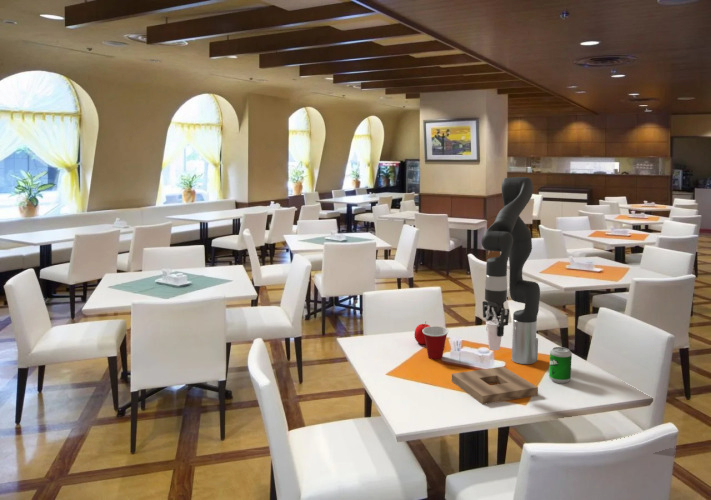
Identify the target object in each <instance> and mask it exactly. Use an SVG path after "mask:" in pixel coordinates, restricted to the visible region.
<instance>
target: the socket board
mask: <svg viewBox="0 0 711 500" xmlns="http://www.w3.org/2000/svg"><path fill="white" fill-rule="evenodd" d="M451 382H452V383H453V384H455V385H456V386H457V387H458V388H460V389H461V390H462V391H464V392H465V393H466V394H467V395H469V396H471V397H472V398H473V399H475V400H476V401H478V403H480V404H481V405H487V404H494V403H499V402H505V401H511V400H512V401H513V400H518V399H524V398H529V397H536V396H538V395H539V386H537V385H535V384H533V382H531V381H528V380H527V379H525V378H523V376H520V375H519V374H517V373H515V372H513V371H512V370H510V369H508V368H507V367H505V366H498V367H496V366H495V367H490V368H482V369H476V370H468V371H462V372H455V373H454V372H453V373H451ZM486 403H487V404H486Z"/></svg>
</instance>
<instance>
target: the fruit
mask: <svg viewBox="0 0 711 500" xmlns="http://www.w3.org/2000/svg"><path fill="white" fill-rule="evenodd" d="M430 326H431V325H429V324H427V321H425V323H421V324H418V325H417V326H416V328H415V329H414V330H415V331H414V339H415V341H416V342H417V343H418V344H420V345H422V346H423V345H424V346H426V342H425V337H424V333H423V332H422V330H423V329H424V328H426V327H430Z"/></svg>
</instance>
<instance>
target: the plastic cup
mask: <svg viewBox="0 0 711 500" xmlns="http://www.w3.org/2000/svg"><path fill="white" fill-rule="evenodd" d="M429 326H430V327H426V328H424V329H423V330H422V332H423V333H424V337H425V342H426V345H425V346H426V351H427V357H428V359H431V360H441V359H442V358H443V356H444V351H445V345H446V340H447V336H448V333H449V329H447V328H446V327H444V326H438V325H433V326H432V325H429Z"/></svg>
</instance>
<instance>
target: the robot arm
mask: <svg viewBox="0 0 711 500" xmlns="http://www.w3.org/2000/svg"><path fill="white" fill-rule="evenodd" d="M533 193H534V184H533V181H532V179H531V178H530V177H527V176H514V177H505V178H503V180H502V182H501V196H502V203H503V207H502V208H501V209H500V210H499V212H498V213H497V215H496V217H495V219H494V222H493V223H492V224H491V225H490V226H489V227H488V228H487V229H486V230H485V231H484V233H483V235H482V237H481V246H482V248H483V249H484V250H486V251H488V252H500V255H499V256H496V257H495V256H494V257H490V258H488V259H487V260H486V268H485V269H486V270H485V271H486V273H485V274H486V275H485V281H484V284H485V286H484V301H482V317H483V318H484V320H485V322H486V321H489V320H496V321H497V325H498V326H497V336H499V337H501V336H502V337H504V332H505V331H504V330H505V326H509V319H510V309H509V308H505V306H504V303H506V302H507V300H508V292H509V295H510V299H511V300H512V301H513V302H515V303H519V304H520V303H521V304H524V308H523V309H519V310H515V311H514V312H513V315H512V340H511V341H512V342H511V345H512V346H511V347H512V348H511V360H512V362H514V363H517V364H521V365H531V364H535V363H536V362H538V355H539V354H538V353H539V352H538V351H539V338H538V337H537V323H538V321H537V320H538V315H539V309H540V297H541V290H540V289H541V287H540V285H539V283H538V282H536V281H531V280H525V279H524V278H523V268H524V266H525V264H526V262H527V260H528V258H529V257H530V255H531V253H532V249H533V243H532V242H533V241H532V232H531V230H530V228H529V227H528V225H527V224H526V223H525V221H523V219H522V218H521V216H520V214H521V213H522V212H523V210H524V209H525V207H526V206H527V204H528V203H529V202H530V200H531V198H532V196H533ZM508 264H509V266H508ZM508 267H509V280H508ZM508 281H509V282H508ZM508 283H509V287H508ZM508 289H509V291H508ZM502 337H501V338H502Z"/></svg>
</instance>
